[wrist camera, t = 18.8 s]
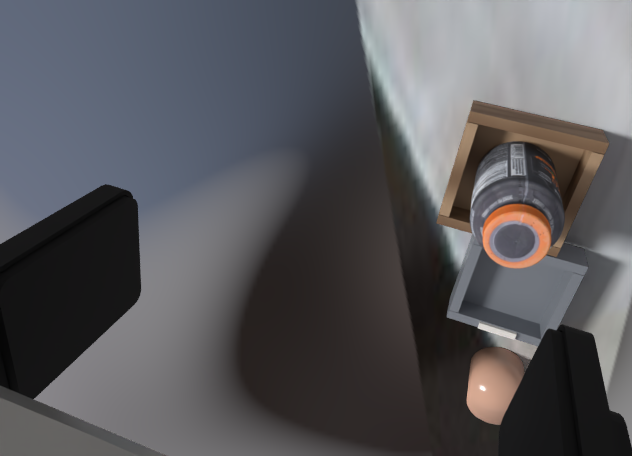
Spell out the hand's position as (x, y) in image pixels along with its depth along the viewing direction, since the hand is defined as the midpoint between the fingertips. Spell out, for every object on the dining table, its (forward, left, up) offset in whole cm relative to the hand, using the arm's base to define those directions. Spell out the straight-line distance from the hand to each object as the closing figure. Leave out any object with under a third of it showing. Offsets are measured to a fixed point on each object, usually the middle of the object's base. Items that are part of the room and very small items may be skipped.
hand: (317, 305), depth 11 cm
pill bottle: (+8, +7, -33) cm, 34 cm away
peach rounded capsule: (+28, +12, -33) cm, 45 cm away
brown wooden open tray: (+8, +7, -33) cm, 35 cm away
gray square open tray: (+17, +10, -33) cm, 39 cm away
